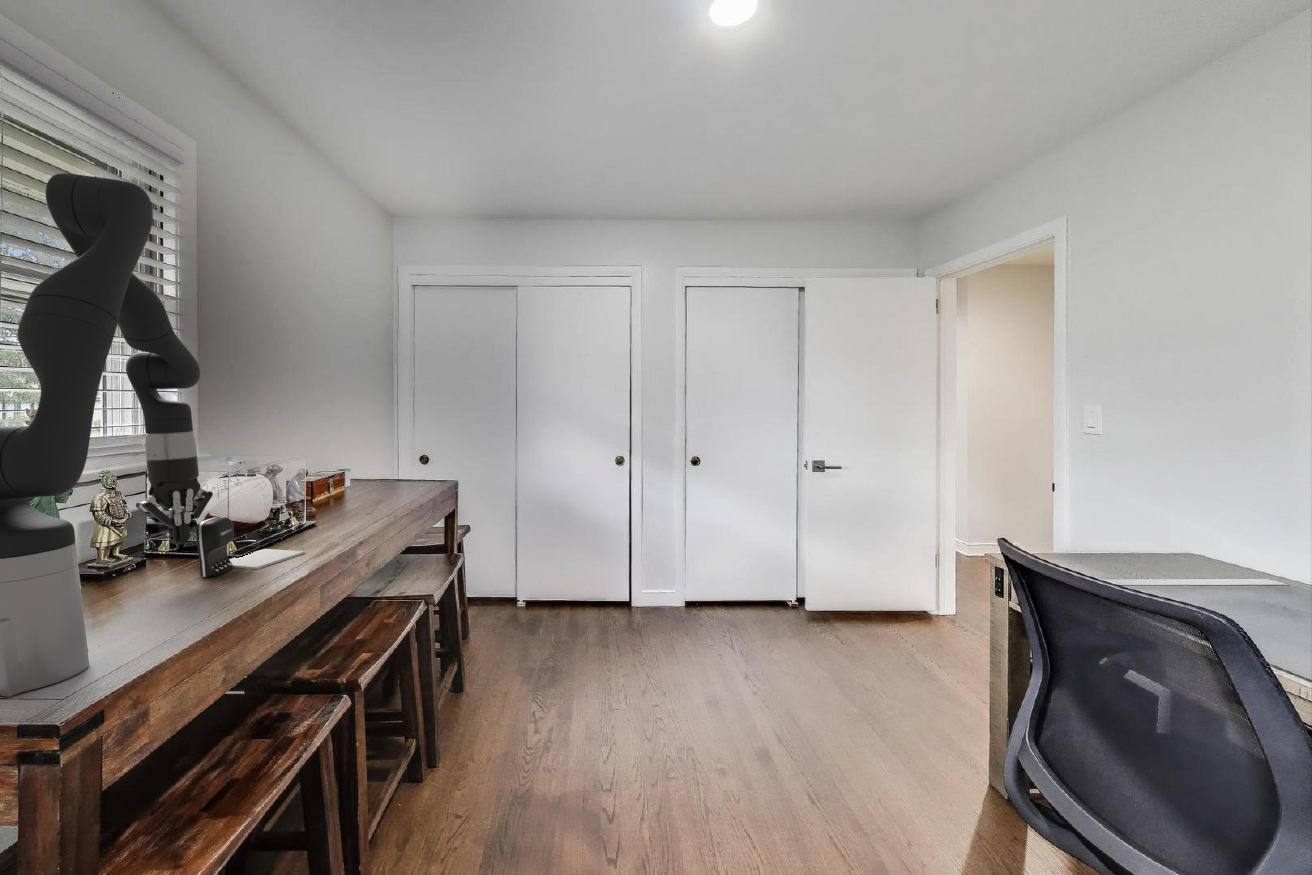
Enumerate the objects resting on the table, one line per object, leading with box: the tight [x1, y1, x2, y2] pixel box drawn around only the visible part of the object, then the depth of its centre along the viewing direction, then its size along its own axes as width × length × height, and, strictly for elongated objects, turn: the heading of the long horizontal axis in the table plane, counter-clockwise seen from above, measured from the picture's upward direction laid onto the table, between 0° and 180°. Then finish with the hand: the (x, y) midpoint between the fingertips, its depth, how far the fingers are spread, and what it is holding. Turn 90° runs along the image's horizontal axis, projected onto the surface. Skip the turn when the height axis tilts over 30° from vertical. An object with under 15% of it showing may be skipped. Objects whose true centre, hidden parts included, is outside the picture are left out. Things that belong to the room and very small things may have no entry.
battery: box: [195, 516, 235, 578], centre depth 118 cm, size 7×4×11 cm, turn 8°
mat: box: [229, 548, 306, 570], centre depth 128 cm, size 12×12×1 cm
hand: (180, 543), depth 112 cm, fingers closed
